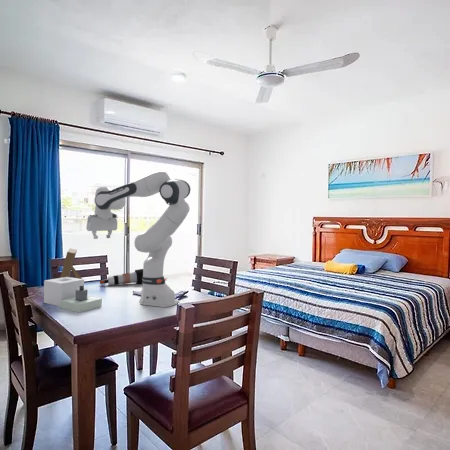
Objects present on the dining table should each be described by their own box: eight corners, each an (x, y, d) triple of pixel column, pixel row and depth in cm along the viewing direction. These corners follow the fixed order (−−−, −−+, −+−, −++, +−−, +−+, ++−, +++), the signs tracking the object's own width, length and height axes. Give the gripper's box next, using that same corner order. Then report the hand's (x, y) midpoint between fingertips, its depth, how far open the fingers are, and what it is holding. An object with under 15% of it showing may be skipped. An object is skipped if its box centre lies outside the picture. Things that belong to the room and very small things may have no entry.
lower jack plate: (101, 306, 178) (101, 298, 178) (79, 312, 165) (79, 304, 165) (83, 302, 184) (83, 295, 184) (60, 308, 172) (60, 300, 172)
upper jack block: (83, 301, 187) (84, 279, 187) (61, 306, 175) (61, 283, 174) (66, 297, 194) (67, 276, 193) (43, 302, 181) (44, 280, 181)
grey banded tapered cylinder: (100, 291, 230) (99, 277, 234) (150, 283, 244) (148, 270, 247) (101, 287, 222) (99, 272, 225) (152, 279, 235) (150, 265, 239)
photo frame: (56, 293, 203) (56, 251, 202) (59, 286, 223) (60, 248, 223) (82, 292, 208) (83, 251, 207) (84, 285, 228) (85, 248, 228)
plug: (87, 304, 176) (87, 285, 176) (80, 306, 172) (81, 287, 172) (81, 303, 178) (82, 284, 177) (75, 305, 174) (75, 286, 174)
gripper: (92, 214, 187) (91, 239, 187) (119, 215, 205) (118, 238, 206) (84, 214, 190) (83, 238, 190) (111, 215, 208) (111, 237, 209)
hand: (102, 238), depth 198 cm, fingers open, 8 cm apart
